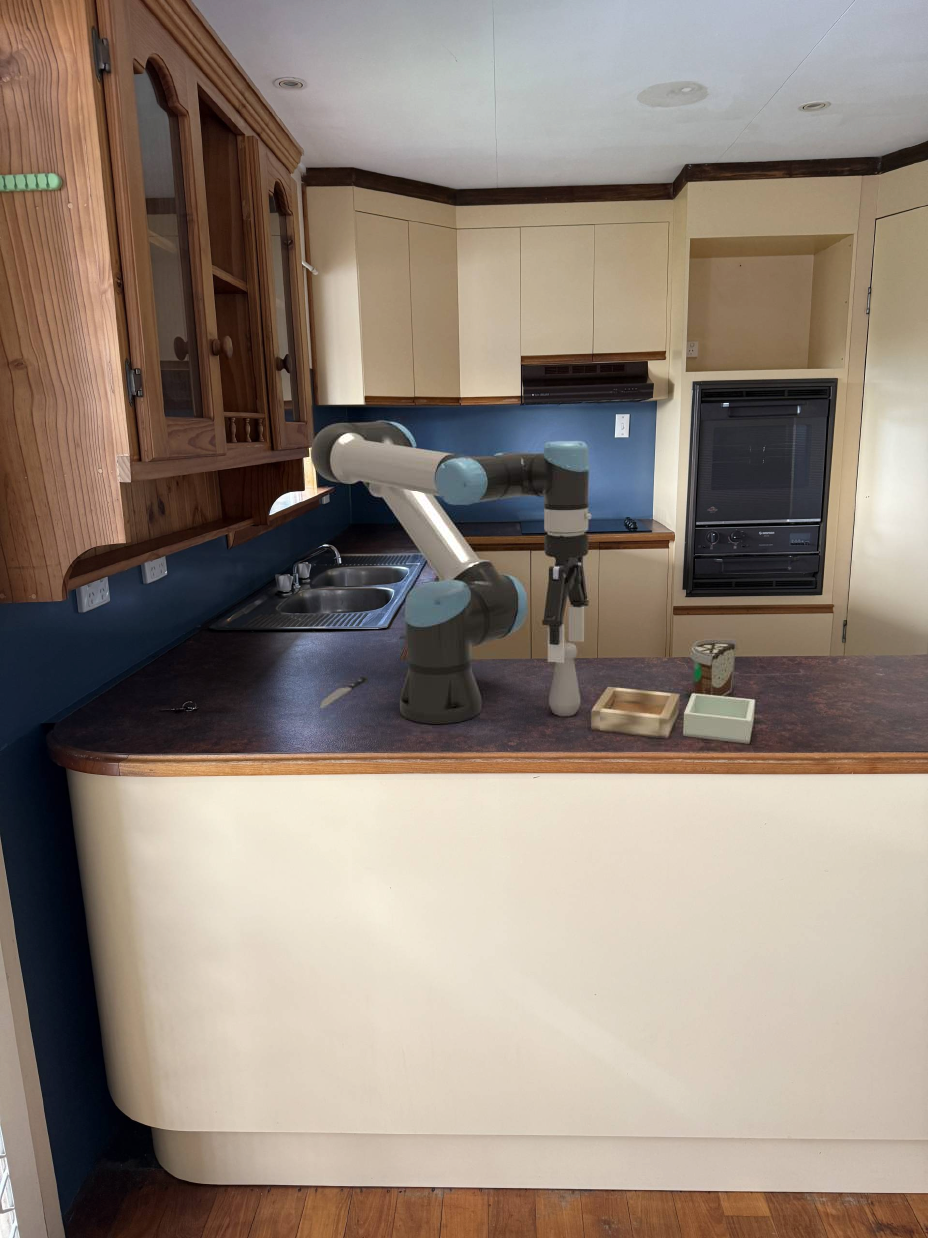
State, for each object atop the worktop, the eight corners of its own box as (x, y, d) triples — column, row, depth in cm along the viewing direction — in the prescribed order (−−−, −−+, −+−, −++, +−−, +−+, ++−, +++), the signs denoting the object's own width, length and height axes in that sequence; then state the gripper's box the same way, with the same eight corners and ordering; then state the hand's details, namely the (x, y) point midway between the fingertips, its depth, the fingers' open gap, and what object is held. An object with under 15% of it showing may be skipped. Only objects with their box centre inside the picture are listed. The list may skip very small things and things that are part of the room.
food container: (704, 682, 166) (706, 634, 164) (734, 688, 162) (737, 639, 160) (677, 700, 157) (679, 649, 155) (708, 706, 153) (711, 654, 151)
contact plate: (603, 721, 145) (603, 718, 144) (615, 703, 153) (615, 701, 153) (658, 728, 141) (658, 725, 141) (667, 709, 150) (667, 706, 149)
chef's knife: (305, 711, 157) (319, 712, 156) (304, 705, 157) (318, 706, 156) (355, 680, 174) (367, 680, 173) (354, 675, 174) (367, 675, 173)
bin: (682, 735, 140) (684, 713, 139) (691, 714, 150) (692, 693, 149) (749, 743, 136) (750, 720, 135) (753, 721, 146) (754, 699, 145)
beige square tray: (591, 729, 144) (591, 710, 143) (607, 704, 155) (608, 686, 155) (667, 739, 139) (668, 719, 138) (678, 712, 151) (679, 694, 150)
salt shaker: (556, 704, 156) (557, 638, 153) (585, 709, 153) (586, 641, 150) (543, 715, 151) (543, 646, 148) (572, 720, 148) (573, 650, 145)
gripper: (568, 544, 131) (568, 673, 136) (604, 523, 154) (603, 634, 159) (523, 543, 134) (524, 669, 139) (564, 522, 156) (564, 632, 162)
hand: (566, 651), depth 149 cm, fingers open, 13 cm apart
